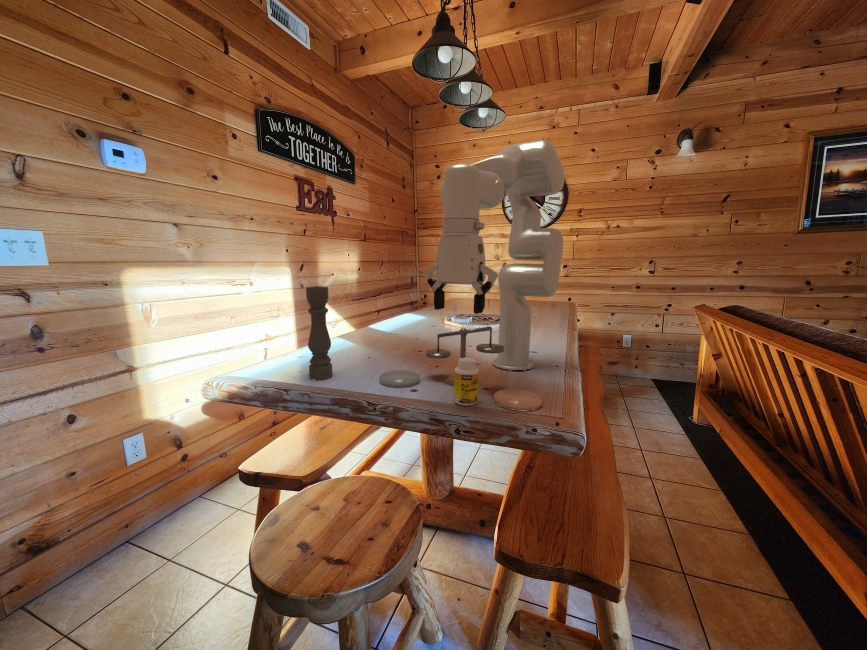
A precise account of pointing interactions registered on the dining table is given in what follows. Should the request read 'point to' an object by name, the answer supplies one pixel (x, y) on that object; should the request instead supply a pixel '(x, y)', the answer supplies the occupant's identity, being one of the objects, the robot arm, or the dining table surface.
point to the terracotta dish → (517, 399)
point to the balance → (464, 347)
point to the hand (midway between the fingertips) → (458, 310)
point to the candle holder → (319, 333)
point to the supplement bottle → (466, 382)
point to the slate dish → (399, 378)
